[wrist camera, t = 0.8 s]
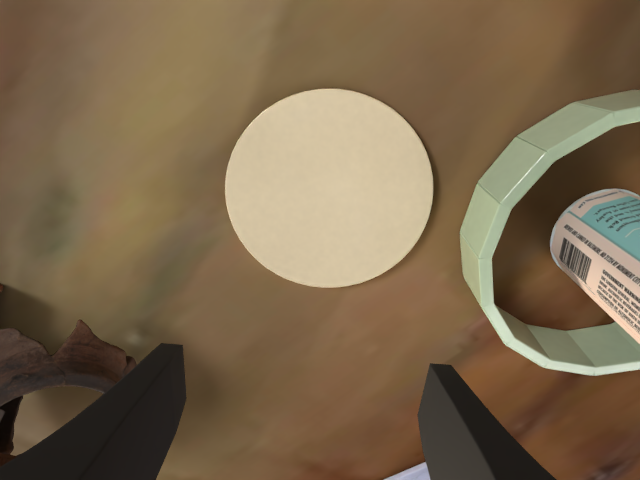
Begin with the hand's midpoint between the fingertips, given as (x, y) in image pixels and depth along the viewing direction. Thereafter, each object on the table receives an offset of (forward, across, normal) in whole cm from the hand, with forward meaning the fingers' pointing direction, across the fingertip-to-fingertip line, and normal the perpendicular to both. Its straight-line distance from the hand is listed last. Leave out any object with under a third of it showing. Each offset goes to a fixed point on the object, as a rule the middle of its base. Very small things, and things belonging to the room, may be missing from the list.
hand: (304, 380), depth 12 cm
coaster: (+10, 0, -2) cm, 10 cm away
